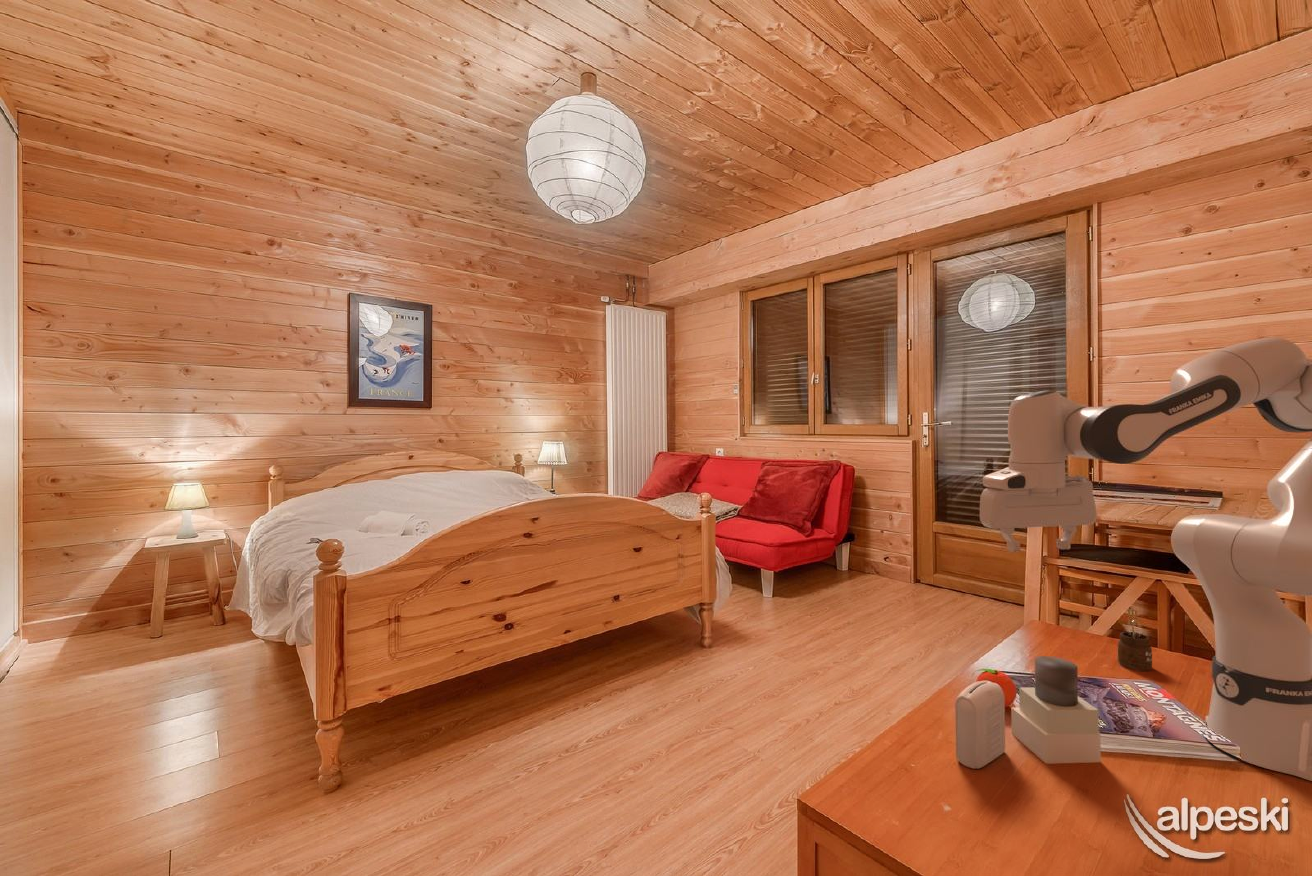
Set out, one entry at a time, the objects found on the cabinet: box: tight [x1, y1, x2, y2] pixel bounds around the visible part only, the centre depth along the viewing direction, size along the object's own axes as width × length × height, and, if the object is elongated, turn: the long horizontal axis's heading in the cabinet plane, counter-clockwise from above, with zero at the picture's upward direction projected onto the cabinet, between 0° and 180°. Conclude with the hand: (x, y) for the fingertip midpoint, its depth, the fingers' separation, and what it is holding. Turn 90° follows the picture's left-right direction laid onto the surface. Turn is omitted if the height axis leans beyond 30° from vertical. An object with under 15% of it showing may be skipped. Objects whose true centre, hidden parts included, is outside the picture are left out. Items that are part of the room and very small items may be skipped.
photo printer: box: [954, 681, 1006, 770], centre depth 95 cm, size 10×4×12 cm, turn 123°
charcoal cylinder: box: [1034, 655, 1079, 707], centre depth 96 cm, size 6×6×6 cm
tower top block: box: [1018, 686, 1100, 734], centre depth 96 cm, size 8×8×4 cm
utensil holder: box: [1117, 608, 1153, 672], centre depth 127 cm, size 6×6×12 cm
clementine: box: [972, 668, 1017, 708], centre depth 112 cm, size 8×7×7 cm
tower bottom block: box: [1010, 706, 1102, 765], centre depth 97 cm, size 9×9×5 cm
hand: (1038, 549), depth 106 cm, fingers open, 8 cm apart
